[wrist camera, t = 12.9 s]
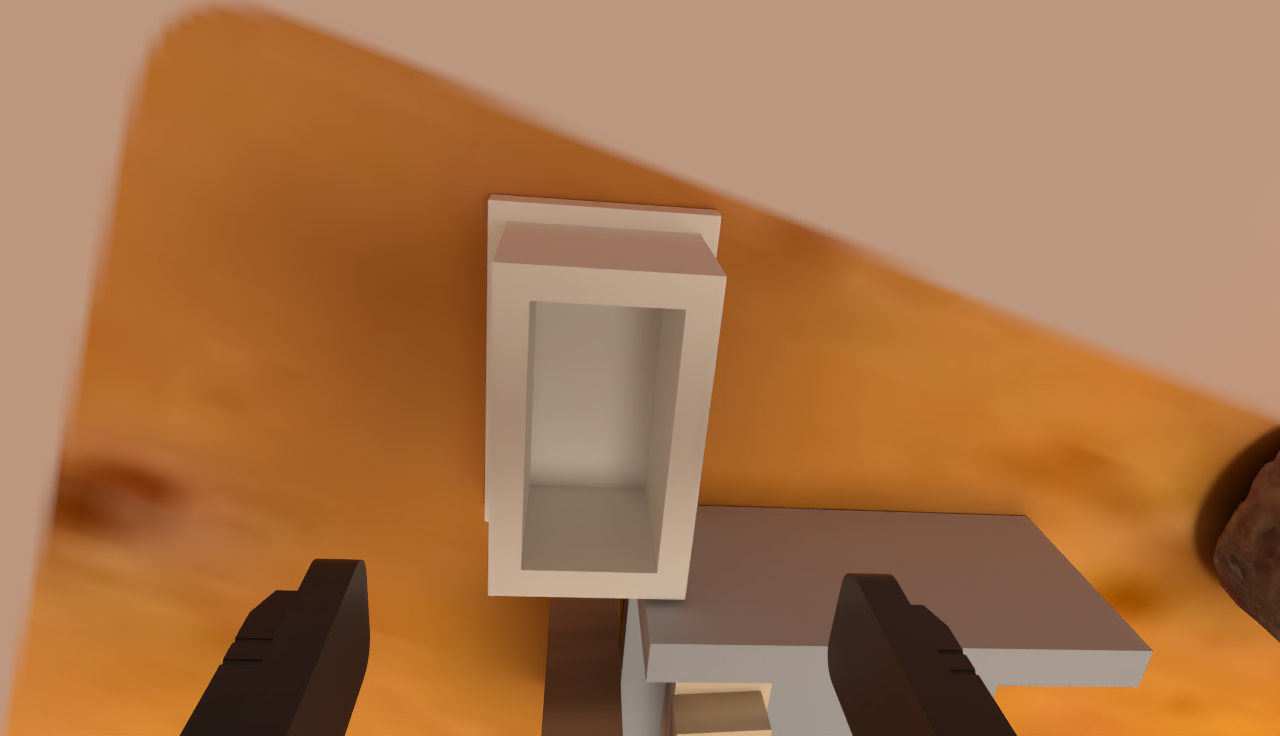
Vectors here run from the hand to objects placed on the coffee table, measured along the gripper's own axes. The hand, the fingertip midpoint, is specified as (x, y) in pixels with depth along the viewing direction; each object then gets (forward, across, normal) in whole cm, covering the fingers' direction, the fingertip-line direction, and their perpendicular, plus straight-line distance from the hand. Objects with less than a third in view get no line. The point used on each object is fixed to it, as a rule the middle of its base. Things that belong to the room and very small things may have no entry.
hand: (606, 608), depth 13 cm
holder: (+10, 0, 0) cm, 10 cm away
